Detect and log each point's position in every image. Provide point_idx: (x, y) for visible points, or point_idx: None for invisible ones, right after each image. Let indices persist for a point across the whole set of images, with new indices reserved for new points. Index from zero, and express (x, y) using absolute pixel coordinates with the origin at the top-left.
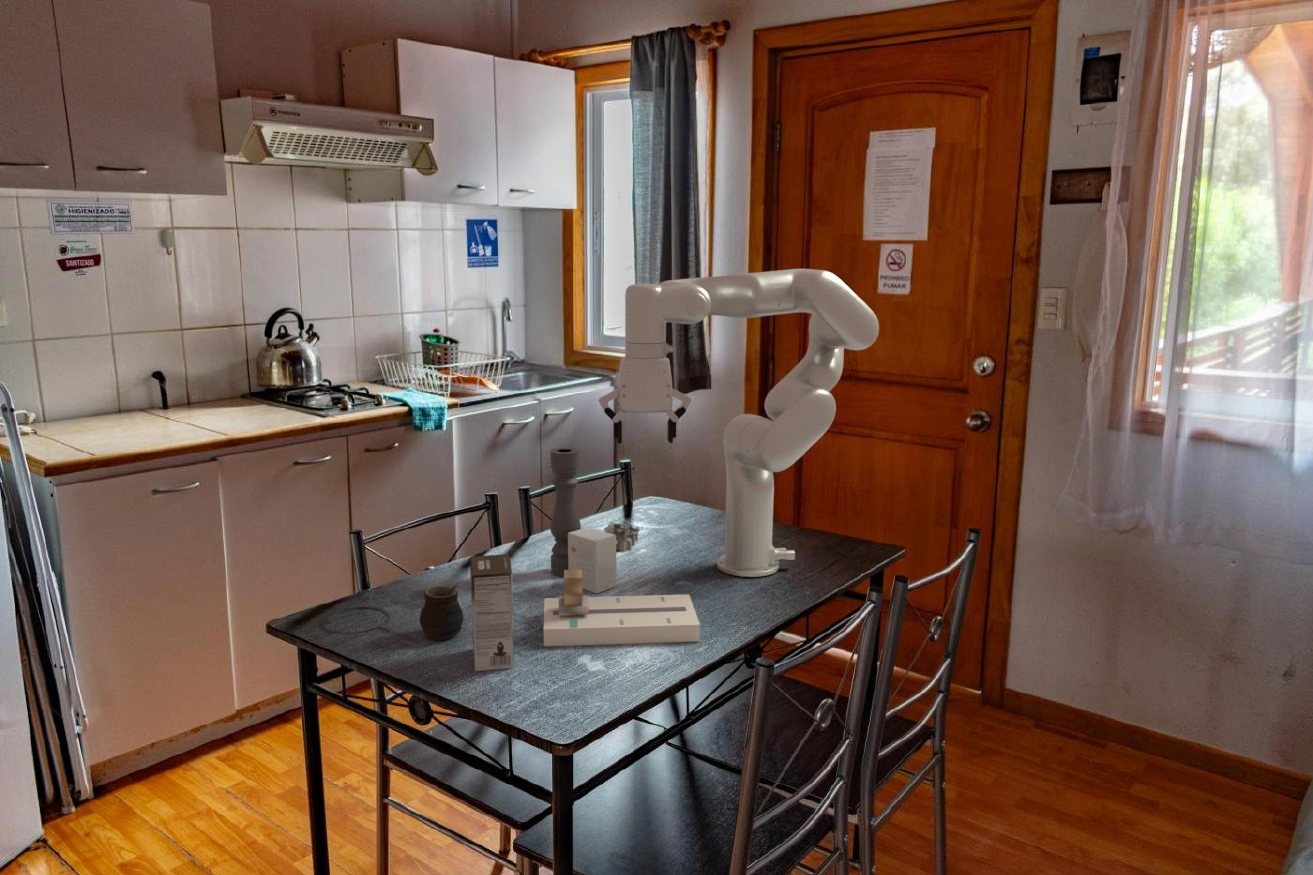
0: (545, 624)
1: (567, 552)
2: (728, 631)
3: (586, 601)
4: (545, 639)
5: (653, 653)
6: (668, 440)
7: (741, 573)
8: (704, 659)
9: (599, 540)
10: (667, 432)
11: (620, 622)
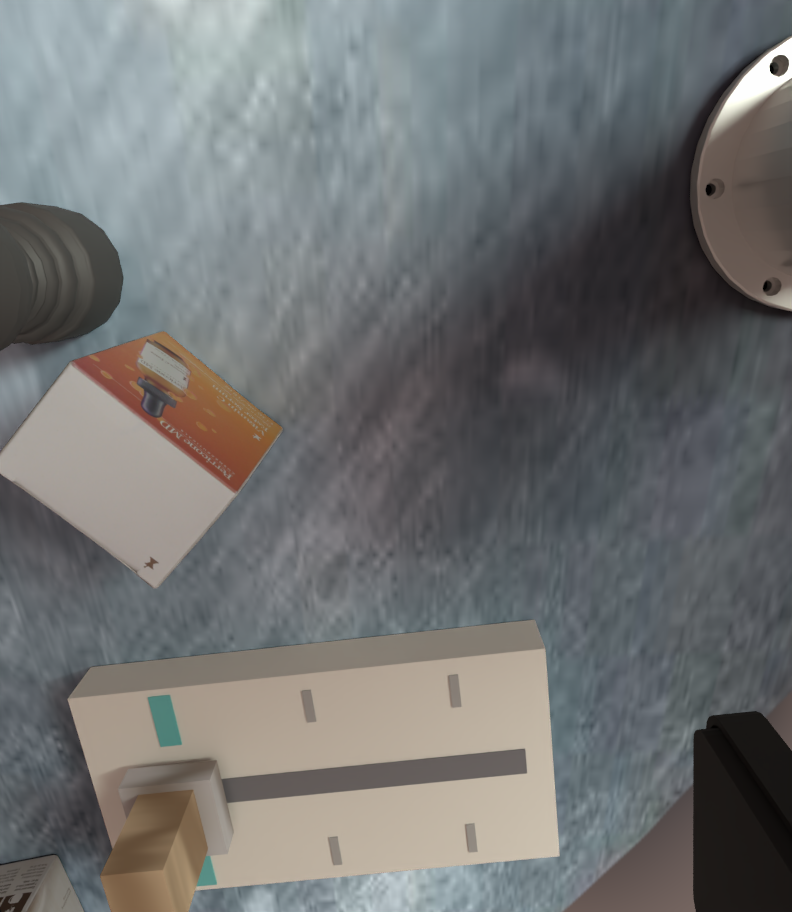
0: None
1: (29, 340)
2: (635, 755)
3: (215, 821)
4: None
5: (426, 878)
6: (699, 860)
7: (775, 307)
8: (551, 901)
9: (170, 571)
10: (749, 808)
11: (332, 855)
